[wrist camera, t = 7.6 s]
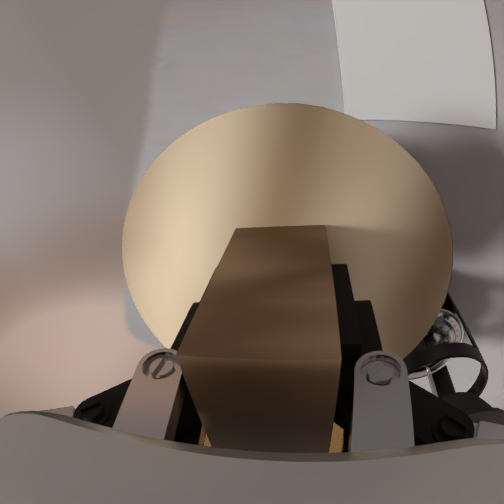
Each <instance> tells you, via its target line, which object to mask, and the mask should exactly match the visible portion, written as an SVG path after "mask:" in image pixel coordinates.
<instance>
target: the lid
mask: <svg viewBox="0 0 504 504" xmlns="http://www.w3.org/2000/svg"><path fill="white" fill-rule="evenodd" d="M122 256H123V265H124V272H125V276H126V280H127V284H128V288H129V291H130V293H131V296H132V298H133V301H134V303H135V305H136V307H137V309H138V311H139V313H140V314H141V316H142V318H143V320H144V321H145V323H146V324H147V326H148V327H149V328H150V330H151V331H152V333H153V334H154V335H155V336H156V337H157V339H158V340H159V341H160V342H161V343H162V344H163V345H164V346H165V347H166V348H168V349H170V348H171V346H172V344H173V342H174V340H175V338H176V336H177V334H178V332H179V330H180V328H181V326H182V324H183V322H184V320H185V318H186V316H187V314H188V312H189V310H190V308H191V306H192V304H193V303H195V302H200V300H201V298H202V296H203V298H202V300H201V302H200V304H199V306H198V308H197V310H196V312H195V315H194V317H193V319H192V321H191V323H190V325H189V327H188V330H187V332H186V334H185V336H184V338H183V340H182V343H181V345H180V347H179V349H178V351H177V353H176V357H177V360H178V362H179V365H180V368H181V371H182V373H183V376H184V379H185V381H186V384H187V387H188V389H189V392H190V395H191V397H192V400H193V402H194V405H195V407H196V410H197V412H198V415H199V417H200V420H201V422H202V424H203V427H204V429H205V432H206V434H207V436H208V438H209V440H210V443H211V445H212V447H215V448H224V449H234V450H245V451H258V452H277V453H329V447H330V441H331V435H332V429H333V422H334V416H335V409H336V402H337V394H338V387H339V378H340V370H341V360H342V357H341V346H340V335H339V325H338V316H337V307H336V298H335V290H334V282H333V274H332V266H331V264H347V267H348V272H349V276H350V281H351V286H352V291H353V296H354V301H358V300H370V301H371V303H372V307H373V311H374V315H375V319H376V323H377V327H378V332H379V336H380V340H381V345H382V349H383V351H387V352H390V353H393V354H395V355H397V356H398V357H400V358H401V359H402V360H403V359H404V358H405V357H406V356H407V355H408V354H409V353H410V352H411V351H412V350H413V349H414V348H415V347H416V346H417V345H418V344H419V343H420V342H421V340H422V339H423V338H424V337H425V335H426V334H427V333H428V331H429V330H430V328H431V327H432V325H433V323H434V322H435V320H436V319H437V317H438V315H439V312H440V310H441V308H442V306H443V304H444V301H445V298H446V295H447V292H448V288H449V285H450V280H451V273H452V266H453V242H452V236H451V230H450V224H449V220H448V217H447V214H446V211H445V208H444V205H443V202H442V200H441V198H440V196H439V194H438V192H437V190H436V188H435V186H434V185H433V183H432V181H431V180H430V178H429V177H428V175H427V174H426V173H425V171H424V170H423V169H422V167H421V166H420V165H419V163H418V162H417V161H416V160H415V159H414V158H413V157H412V156H411V155H410V154H409V153H408V152H407V151H406V150H405V149H404V148H403V147H402V146H401V145H400V144H398V143H397V142H396V141H394V140H393V139H391V138H390V137H389V136H387V135H386V134H384V133H383V132H381V131H380V130H379V129H377V128H375V127H373V126H371V125H369V124H367V123H365V122H363V121H361V120H359V119H357V118H355V117H353V116H350V115H347V114H344V113H341V112H338V111H334V110H331V109H328V108H324V107H319V106H312V105H305V104H298V103H275V104H266V105H259V106H253V107H247V108H242V109H238V110H235V111H232V112H229V113H226V114H223V115H220V116H217V117H214V118H212V119H210V120H208V121H206V122H204V123H202V124H200V125H198V126H196V127H194V128H192V129H191V130H190V131H188V132H187V133H185V134H184V135H183V136H181V137H180V138H178V139H177V140H176V141H174V142H173V143H172V144H171V145H170V146H169V147H168V148H167V149H165V150H164V151H163V152H162V153H161V154H160V155H159V156H158V157H157V158H156V159H155V161H154V162H153V163H152V165H151V166H150V167H149V169H148V170H147V172H146V173H145V174H144V176H143V177H142V179H141V181H140V183H139V184H138V186H137V188H136V190H135V192H134V194H133V196H132V199H131V202H130V205H129V208H128V211H127V214H126V218H125V224H124V229H123V240H122ZM216 267H217V268H216ZM215 268H216V270H215ZM214 270H215V272H214ZM213 272H214V274H213ZM212 275H213V276H212ZM211 277H212V279H211ZM210 279H211V281H210ZM209 281H210V283H209ZM208 283H209V285H208ZM207 285H208V287H207ZM206 287H207V289H206ZM205 289H206V291H205ZM204 291H205V293H204ZM203 293H204V295H203Z"/></svg>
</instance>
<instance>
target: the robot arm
mask: <svg viewBox="0 0 504 504" xmlns="http://www.w3.org/2000/svg"><path fill="white" fill-rule="evenodd" d="M331 266H332V274H333V282H334V290H335V298H336V307H337V316H338V325H339V335H340V346H341V357H342V360H341V370H340V378H339V387H338V394H337V402H336V409H335V416H334V422H335V423H336V424H337V425H339V426H340V427H341V428H343V429H344V430H343V439H342V449H341V453H277V452H258V451H245V450H234V449H224V448H215V447H207V446H204V442H205V436H206V432H205V429H204V427H203V424H202V422H201V420H200V417H199V415H198V412H197V410H196V407H195V405H194V402H193V400H192V397H191V395H190V392H189V389H188V387H187V384H186V381H185V379H184V376H183V373H182V371H181V368H180V365H179V362H178V360H177V357H176V353H177V351H178V349H179V347H180V345H181V343H182V340H183V338H184V336H185V334H186V332H187V330H188V327H189V325H190V323H191V321H192V319H193V317H194V315H195V312H196V310H197V308H198V306H199V304H200V302H201V300H202V298H203V296H202V298H201V300H200V302H195V303H193V304H192V306H191V308H190V310H189V312H188V314H187V316H186V318H185V320H184V322H183V324H182V326H181V328H180V330H179V332H178V334H177V336H176V338H175V340H174V342H173V344H172V346H171V348H170V349H168V348H164V349H158V350H154V351H152V352H150V353H148V354H146V355H145V356H144V357H143V358H142V359H141V361H140V362H139V364H138V366H137V369H136V371H135V373H134V375H133V378H132V379H130V380H128V381H126V382H124V383H121V384H119V385H117V386H115V387H113V388H110V389H108V390H106V391H104V392H102V393H100V394H97V395H95V396H93V397H90V398H88V399H86V400H85V401H83V402H82V403H81V404H80V405H79V406H78V407H77V408H76V409H75V408H74V407H73V406H70V407H64V408H57V409H50V410H43V411H20V412H14V413H10V414H7V415H5V416H4V417H2V418H1V419H0V504H504V425H499V424H495V423H490V422H485V421H480V422H479V424H477V423H473V421H472V420H471V418H470V417H469V415H467V414H466V413H465V412H463V411H462V410H460V409H458V408H456V407H455V406H453V405H451V404H449V403H448V402H446V401H444V400H442V399H440V398H439V397H437V396H435V395H433V394H432V393H430V392H428V391H426V390H425V389H423V388H421V387H419V386H418V385H416V384H414V383H413V382H411V381H409V380H408V373H407V368H406V365H405V363H404V361H403V360H402V359H401V358H400V357H398V356H397V355H395V354H393V353H390V352H387V351H383V349H382V345H381V340H380V336H379V332H378V327H377V323H376V319H375V315H374V311H373V307H372V303H371V301H370V300H358V301H354V296H353V291H352V286H351V281H350V276H349V272H348V267H347V264H331ZM216 268H217V267H216ZM216 268H215V270H216ZM215 270H214V272H215ZM214 272H213V274H214ZM212 276H213V275H212ZM211 279H212V277H211ZM211 279H210V281H211ZM210 281H209V283H210ZM209 283H208V285H209ZM208 285H207V287H208ZM207 287H206V289H207ZM206 289H205V291H206ZM205 291H204V293H205ZM204 293H203V295H204Z"/></svg>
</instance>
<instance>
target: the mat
mask: <svg viewBox="0 0 504 504" xmlns="http://www.w3.org/2000/svg"><path fill="white" fill-rule="evenodd" d="M332 6H333V13H334V20H335V27H336V34H337V42H338V50H339V59H340V69H341V79H342V91H343V103H344V114H347V115H350V116H353V117H355V118H357V119H359V120H398V121H417V122H432V123H444V124H455V125H464V126H473V127H481V128H488V129H495V130H496V95H495V77H494V65H493V55H492V47H491V39H490V33H489V26H488V21H487V15H486V10H485V5H484V0H332Z"/></svg>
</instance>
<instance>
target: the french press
mask: <svg viewBox="0 0 504 504" xmlns="http://www.w3.org/2000/svg"><path fill="white" fill-rule="evenodd" d="M455 312H456V313H457V315H458V317H459V318H458V317H457V316H456V315H455ZM463 327H464V329H465V331H466V333H467V335H468V337H469V339H470V341H471V343H472V345H473V346H472V345H469V344H465V343H462V341H463V336H464V330H463ZM455 357H468V358H472V359H475V360H477V361H479V362H480V363H481V369H480V373H479V376H478V378H477V380H476V381H475V383H474V384H473V386H472V387H471V388H470V389H469V390H468V391H467V392H457V393H456V392H455V389H454V386H453V383H452V380H451V377H450V375H449V372H448V369H447V366H446V364H447V363H448V362H449V361H450V360H451V359H452V358H455ZM403 361H404V363H405V365H406V368H407V373H408V380H411V379H417V378H422V377H425V376H428V379H429V383H430V386H431V390H432V393H433V395H435V396H437V397H439V398H440V399H442V400H444V401H446V402H448V403H449V404H451V405H453V406H455V407H456V408H458V409H460V410H462V411H463V412H465V413H466V414H467V415H469V417H470V418H471V420H472V421H473V423H477V424H479V422H480V421H485V422H490V423H495V424H499V425H504V411H503V410H501V409H499V408H492V407H491V406H490V405H489V404H488V403H486V402H485V401H484V400H483V399H481V398H480V397H479V396H480V394H481V393H482V391H483V390H484V388H485V386H486V383H487V380H488V369H487V366H486V364H485V361H484V359H483V357H482V355H481V353H480V351H479V349H478V347H477V345H476V343H475V341H474V339H473V337H472V335H471V333H470V331H469V329H468V327H467V325H466V323H465V321H464V319H463V318H462V316H461V314H460V312H459V310H458V308H457V307H456V305H455V303H454V301H453V299H452V298H451V296H450V294H449V293H448V292H447V295H446V298H445V301H444V304H443V306H442V308H441V310H440V312H439V315H438V317H437V319H436V320H435V322H434V323H433V325H432V327H431V328H430V330H429V331H428V333H427V334H426V335H425V337H424V338H423V339H422V340H421V342H420V343H419V344H418V345H417V346H416V347H415V348H414V349H413V350H412V351H411V352H410V353H409V354H408V355H407V356H406V357H405V358H404V359H403Z"/></svg>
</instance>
